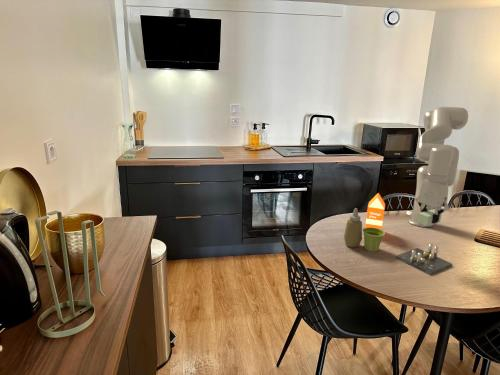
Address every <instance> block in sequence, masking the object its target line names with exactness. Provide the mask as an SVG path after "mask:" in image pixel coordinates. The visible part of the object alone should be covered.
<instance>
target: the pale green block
mask: <svg viewBox="0 0 500 375" xmlns="http://www.w3.org/2000/svg"><path fill="white" fill-rule="evenodd" d="M433 214H435V209H433V210H429V211H425V212H421V213H418V218H417V222H418V223H420V224H423V225H425V226H428V225H432V224H433V223H432V219H433ZM442 214H443V213H441V214H440V217H439V221H438V222H437V223H438V224H439V223H440V222H441V221H442V220H441V219H442ZM437 223H434V225H435V224H437Z"/></svg>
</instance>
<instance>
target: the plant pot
mask: <svg viewBox="0 0 500 375" xmlns="http://www.w3.org/2000/svg"><path fill="white" fill-rule="evenodd" d="M362 233H363V239H364V240H363V241H364V242H363V245H364V246H363V248H364V249H365V250H366V251H368V252H378V251H379V250H380V246H381V242H382V239H383V237H384V236H385V234H386V233H385V231H384V230H382V229H378V228H374V227H366V228H365V227H364V228H362Z"/></svg>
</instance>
